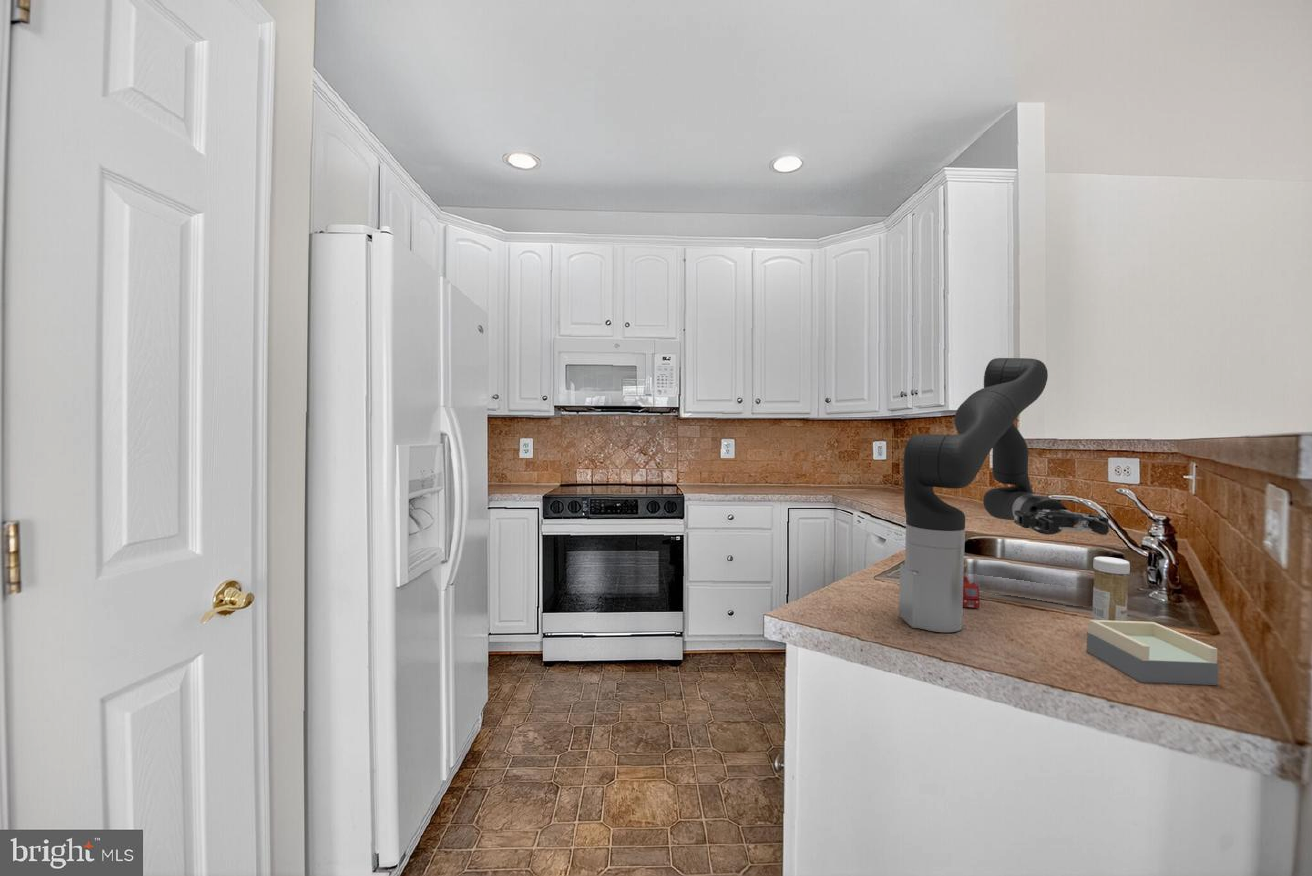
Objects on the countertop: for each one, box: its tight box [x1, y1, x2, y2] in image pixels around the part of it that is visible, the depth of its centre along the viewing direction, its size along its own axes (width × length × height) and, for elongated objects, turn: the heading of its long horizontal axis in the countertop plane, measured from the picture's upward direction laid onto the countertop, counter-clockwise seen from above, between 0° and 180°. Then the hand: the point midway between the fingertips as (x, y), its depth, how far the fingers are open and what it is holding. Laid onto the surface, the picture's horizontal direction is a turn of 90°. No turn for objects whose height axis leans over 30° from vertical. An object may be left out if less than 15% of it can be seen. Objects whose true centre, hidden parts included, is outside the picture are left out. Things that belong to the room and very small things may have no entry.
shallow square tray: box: [1086, 619, 1219, 686], centre depth 79 cm, size 10×10×5 cm
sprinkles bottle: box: [1092, 556, 1131, 621], centre depth 88 cm, size 5×5×14 cm
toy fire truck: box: [963, 558, 980, 609], centre depth 109 cm, size 3×14×10 cm, turn 168°
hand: (1077, 528), depth 99 cm, fingers open, 8 cm apart
